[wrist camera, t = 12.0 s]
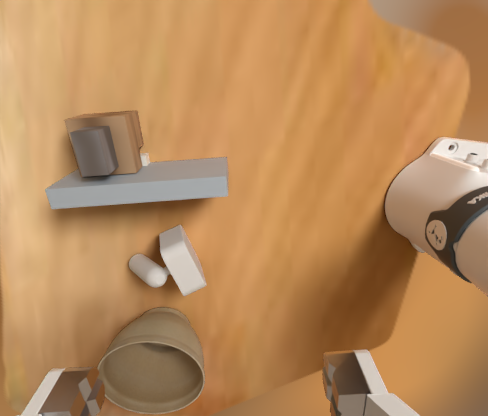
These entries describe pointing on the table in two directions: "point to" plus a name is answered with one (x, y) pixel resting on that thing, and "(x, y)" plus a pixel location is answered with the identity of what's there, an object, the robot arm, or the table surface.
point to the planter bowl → (154, 364)
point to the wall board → (143, 184)
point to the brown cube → (106, 143)
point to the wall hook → (172, 263)
